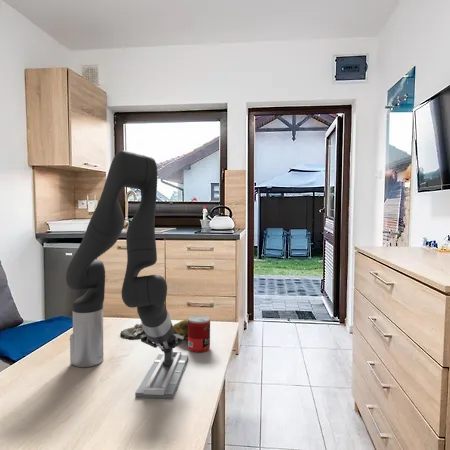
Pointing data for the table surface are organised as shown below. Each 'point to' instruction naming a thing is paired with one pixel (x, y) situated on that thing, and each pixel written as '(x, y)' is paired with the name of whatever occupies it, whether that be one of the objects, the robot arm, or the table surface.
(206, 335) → the canned food
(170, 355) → the fader tab
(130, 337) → the grey rough oval piece
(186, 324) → the potato
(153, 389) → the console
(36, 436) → the table surface
